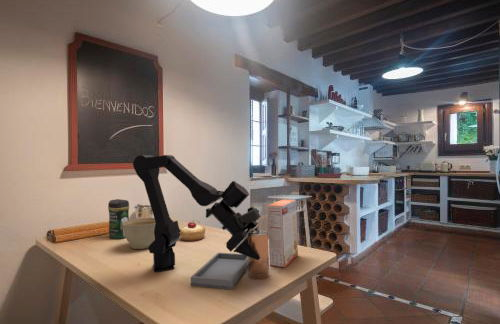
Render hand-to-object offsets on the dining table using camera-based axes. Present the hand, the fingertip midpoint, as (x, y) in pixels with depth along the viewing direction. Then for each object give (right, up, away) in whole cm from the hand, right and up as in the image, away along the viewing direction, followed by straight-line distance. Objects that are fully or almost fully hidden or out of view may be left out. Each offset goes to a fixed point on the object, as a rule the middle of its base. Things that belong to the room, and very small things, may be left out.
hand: (262, 253), depth 87 cm
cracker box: (+8, -7, +13) cm, 17 cm away
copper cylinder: (-1, -7, 0) cm, 7 cm away
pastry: (-31, -8, +45) cm, 55 cm away
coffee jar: (-68, -9, +50) cm, 85 cm away
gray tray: (-12, -7, +3) cm, 14 cm away
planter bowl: (-50, -8, +34) cm, 61 cm away
